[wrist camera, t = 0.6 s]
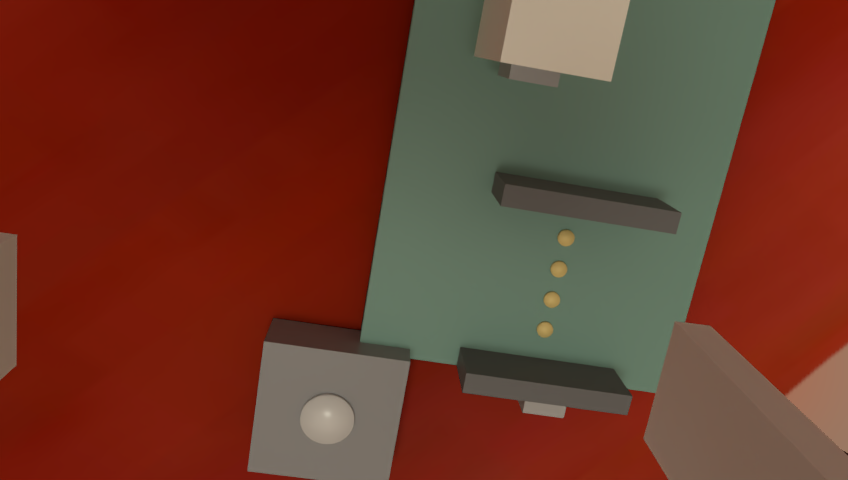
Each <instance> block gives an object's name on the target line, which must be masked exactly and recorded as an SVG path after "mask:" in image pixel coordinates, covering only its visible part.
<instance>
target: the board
mask: <svg viewBox="0 0 848 480" xmlns="http://www.w3.org/2000/svg"><path fill="white" fill-rule="evenodd" d="M775 1H776V0H630V3H629V7H628V12H627V16H626V20H625V25H624V29H623V33H622V37H621V42H620V46H619V50H618V54H617V59H616V63H615V67H614V72H613V76H612V80H611V82H609V81H603V80H598V79H592V78H587V77H581V76H576V75H570V74H564V73H561V74H560V79H559V84H558V88H557V87H551V86H546V85H540V84H534V83H529V82H523V81H518V80H512V79H507V78H505V77H502V76H499V75H498V71H499V66H500V62H498V61H493V60H489V59H484V58H479V57H475V56H474V53H475V48H476V42H477V37H478V31H479V26H480V21H481V15H482V10H483V4H484V0H414V6H413V12H412V19H411V25H410V31H409V37H408V43H407V49H406V56H405V62H404V68H403V74H402V80H401V86H400V92H399V99H398V105H397V111H396V117H395V123H394V129H393V135H392V142H391V148H390V154H389V160H388V166H387V172H386V179H385V185H384V191H383V197H382V203H381V209H380V215H379V222H378V228H377V234H376V240H375V246H374V252H373V258H372V265H371V271H370V277H369V283H368V289H367V295H366V302H365V308H364V314H363V320H362V326H361V334H360V342H363V343H370V344H377V345H384V346H391V347H398V348H405V349H409V350H410V359H417V360H424V361H431V362H438V363H446V364H453V365H457V369H458V374H459V379H460V383H461V388H462V393H469V394H477V395H484V396H491V397H499V398H506V399H513V400H518V402H519V404H520V407H521V410H522V413H530V414H537V415H544V416H552V417H559V418H564V414H565V410H566V407H572V408H579V409H586V410H594V411H601V412H608V413H616V414H623V415H627V414H628V411H629V407H630V403H631V399H632V395H631V393H630V392H629V390H628V389H631V390H638V391H646V392H653V393H656V390H657V387H658V383H659V379H660V375H661V372H662V368H663V364H664V360H665V357H666V353H667V349H668V345H669V342H670V338H671V334H672V330H673V327H674V323H675V321H677V322H684V323H685V320H686V317H687V313H688V309H689V306H690V302H691V299H692V295H693V292H694V288H695V285H696V281H697V277H698V274H699V270H700V267H701V263H702V260H703V256H704V253H705V249H706V246H707V242H708V238H709V235H710V231H711V228H712V224H713V221H714V217H715V214H716V210H717V207H718V203H719V199H720V196H721V192H722V189H723V185H724V182H725V178H726V175H727V171H728V168H729V164H730V160H731V157H732V153H733V150H734V146H735V143H736V139H737V136H738V132H739V128H740V125H741V121H742V118H743V114H744V111H745V107H746V104H747V100H748V97H749V93H750V89H751V86H752V82H753V79H754V75H755V72H756V68H757V65H758V61H759V58H760V54H761V50H762V47H763V43H764V40H765V36H766V33H767V29H768V26H769V22H770V18H771V15H772V11H773V8H774V4H775Z"/></svg>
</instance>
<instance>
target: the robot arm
mask: <svg viewBox="0 0 848 480" xmlns="http://www.w3.org/2000/svg"><path fill="white" fill-rule="evenodd" d="M16 325H17V235H15V234H8V233H0V380H1V379H2V378H3V377H4V376H5V375H6V374H7V373H8V372H9V371H10V370H12V369H13V368H14V367H15V366H16ZM644 440H645V442H646V443H647V445H648V447H649V448H650V450H651V451H652V453H653V455H654V456H655V458H656V460H657V461H658V463H659V465H660V466H661V468H662V469H663V471H664V473H665V474H666V476H667V478H668V479H669V480H848V453H846V452H845V451H843V450H841V449H840V448H839V447H838V446H837V445H836V444H835V443H834V442H833V441H832V440H831V439H829V438H828V436H826V435H825V434H824V433H823V432H822V431H821V430H820V429H819V428H818V427H817V426H816V425H815V424H814V423H813V422H812V421H811V420H810V419H808V418H807V417H806V416H805V415H804V414H803V413H802V412H801V411H800V410H799V409H798V408H797V407H796V406H795V405H794V404H792V403H791V402H790V401H789V400H788V399H787V398H786V397H785V396H784V395H783V394H782V393H781V392H780V391H779V390H778V389H777V388H776V387H775V386H773V385H772V384H771V383H770V382H769V381H768V380H767V379H766V378H765V377H764V376H763V375H762V374H761V373H760V372H759V371H758V370H757V369H755V368H754V367H753V366H752V365H751V364H750V363H749V362H748V361H747V360H746V359H745V358H744V357H743V356H742V355H741V354H740V353H739V352H737V351H736V350H735V349H734V348H733V347H732V346H731V345H730V344H729V343H728V342H727V341H726V340H725V339H724V338H723V337H722V336H721V335H719V334H718V333H717V332H716V331H715V330H714V329H713V328H712V327H711V326H707V325H700V324H692V323H684V322H677V321H675V323H674V327H673V330H672V334H671V338H670V342H669V345H668V349H667V353H666V357H665V360H664V364H663V368H662V372H661V375H660V379H659V383H658V387H657V390H656V394H655V398H654V401H653V405H652V409H651V413H650V416H649V420H648V424H647V428H646V431H645V435H644Z"/></svg>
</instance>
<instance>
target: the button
mask: <svg viewBox="0 0 848 480" xmlns="http://www.w3.org/2000/svg"><path fill="white" fill-rule="evenodd" d="M360 334H361V330H354V329H347V328H340V327H333V326H326V325H319V324H311V323H304V322H297V321H290V320H283V319H276V318H273V320H272V323H271V325H270V328H269V330H268V333H267V335H266V338H265V340H264V345H263V353H262V361H261V369H260V377H259V384H258V392H257V400H256V408H255V416H254V424H253V432H252V439H251V447H250V455H249V463H248V471H251V472H259V473H267V474H276V475H284V476H292V477H300V478H308V479H316V480H389V476H390V470H391V465H392V459H393V454H394V448H395V443H396V437H397V432H398V426H399V421H400V416H401V410H402V405H403V399H404V394H405V388H406V383H407V377H408V372H409V366H410V350H409V349H405V348H398V347H391V346H384V345H377V344H370V343H363V342H360Z"/></svg>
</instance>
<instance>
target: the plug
mask: <svg viewBox="0 0 848 480" xmlns="http://www.w3.org/2000/svg"><path fill="white" fill-rule="evenodd" d="M629 3H630V0H484V4H483V10H482V15H481V21H480V26H479V31H478V37H477V42H476V48H475V53H474V56H475V57H479V58H484V59H489V60H493V61H498V62H500V66H499V71H498V75H499V76H502V77H505V78H507V79H512V80H518V81H523V82H529V83H534V84H540V85H546V86H551V87H557V88H558V84H559V79H560V74H561V73H564V74H570V75H576V76H581V77H587V78H592V79H598V80H603V81H609V82H611V80H612V76H613V72H614V67H615V63H616V59H617V54H618V50H619V46H620V42H621V37H622V33H623V29H624V25H625V20H626V16H627V12H628V7H629Z"/></svg>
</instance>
